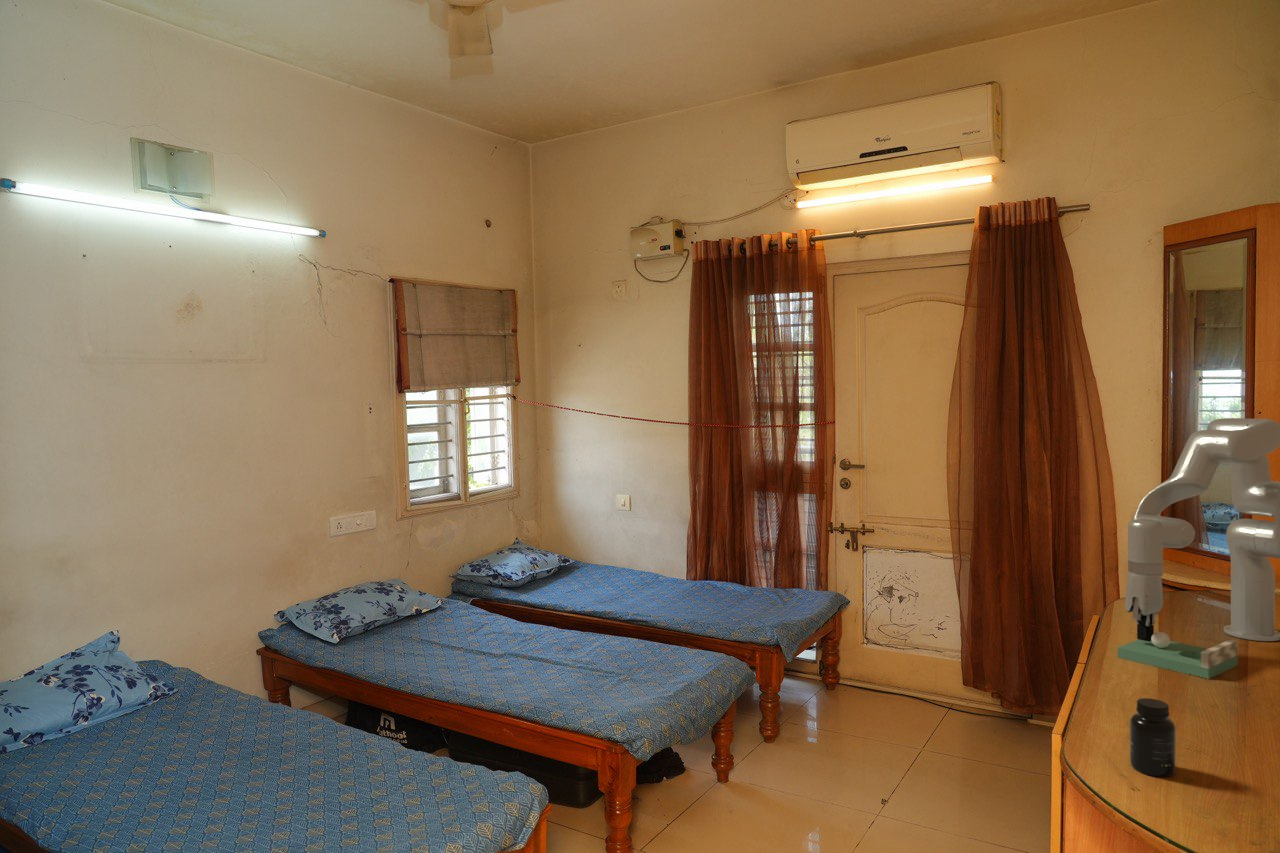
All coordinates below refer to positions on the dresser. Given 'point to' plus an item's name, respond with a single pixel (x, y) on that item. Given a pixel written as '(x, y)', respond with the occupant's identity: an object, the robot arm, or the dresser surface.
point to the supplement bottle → (1152, 739)
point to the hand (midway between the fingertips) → (1145, 639)
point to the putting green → (1173, 658)
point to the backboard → (1218, 653)
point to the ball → (1160, 639)
